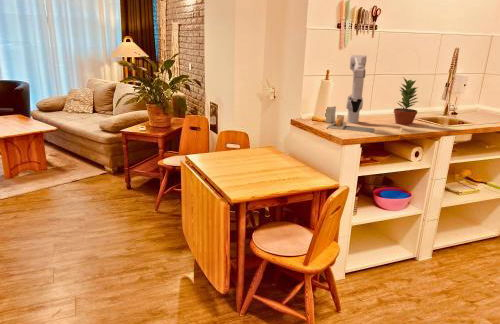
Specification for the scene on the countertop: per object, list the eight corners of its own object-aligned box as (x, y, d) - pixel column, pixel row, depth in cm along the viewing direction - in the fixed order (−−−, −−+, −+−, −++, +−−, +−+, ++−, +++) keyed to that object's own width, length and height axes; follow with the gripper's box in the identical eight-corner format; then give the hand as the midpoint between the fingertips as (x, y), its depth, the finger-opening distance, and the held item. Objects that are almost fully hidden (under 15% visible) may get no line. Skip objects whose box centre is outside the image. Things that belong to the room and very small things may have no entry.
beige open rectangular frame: (333, 124, 245) (334, 114, 243) (346, 125, 242) (347, 115, 240) (329, 128, 234) (330, 117, 232) (342, 129, 231) (343, 119, 229)
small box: (334, 121, 256) (336, 106, 253) (330, 123, 252) (331, 107, 249) (324, 120, 261) (325, 104, 258) (320, 121, 257) (321, 105, 254)
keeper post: (336, 126, 239) (336, 119, 237) (340, 126, 238) (340, 119, 237) (335, 127, 237) (336, 119, 235) (339, 127, 236) (339, 120, 234)
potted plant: (418, 126, 248) (426, 78, 239) (393, 125, 251) (400, 77, 241) (414, 121, 262) (421, 76, 252) (390, 120, 264) (396, 75, 255)
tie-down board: (330, 125, 245) (330, 123, 245) (375, 130, 235) (375, 128, 235) (326, 129, 234) (326, 127, 234) (372, 134, 224) (372, 132, 224)
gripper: (352, 87, 239) (350, 109, 243) (348, 90, 226) (346, 113, 230) (364, 88, 236) (362, 110, 240) (361, 90, 223) (358, 114, 227)
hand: (355, 111), depth 235 cm, fingers open, 4 cm apart
